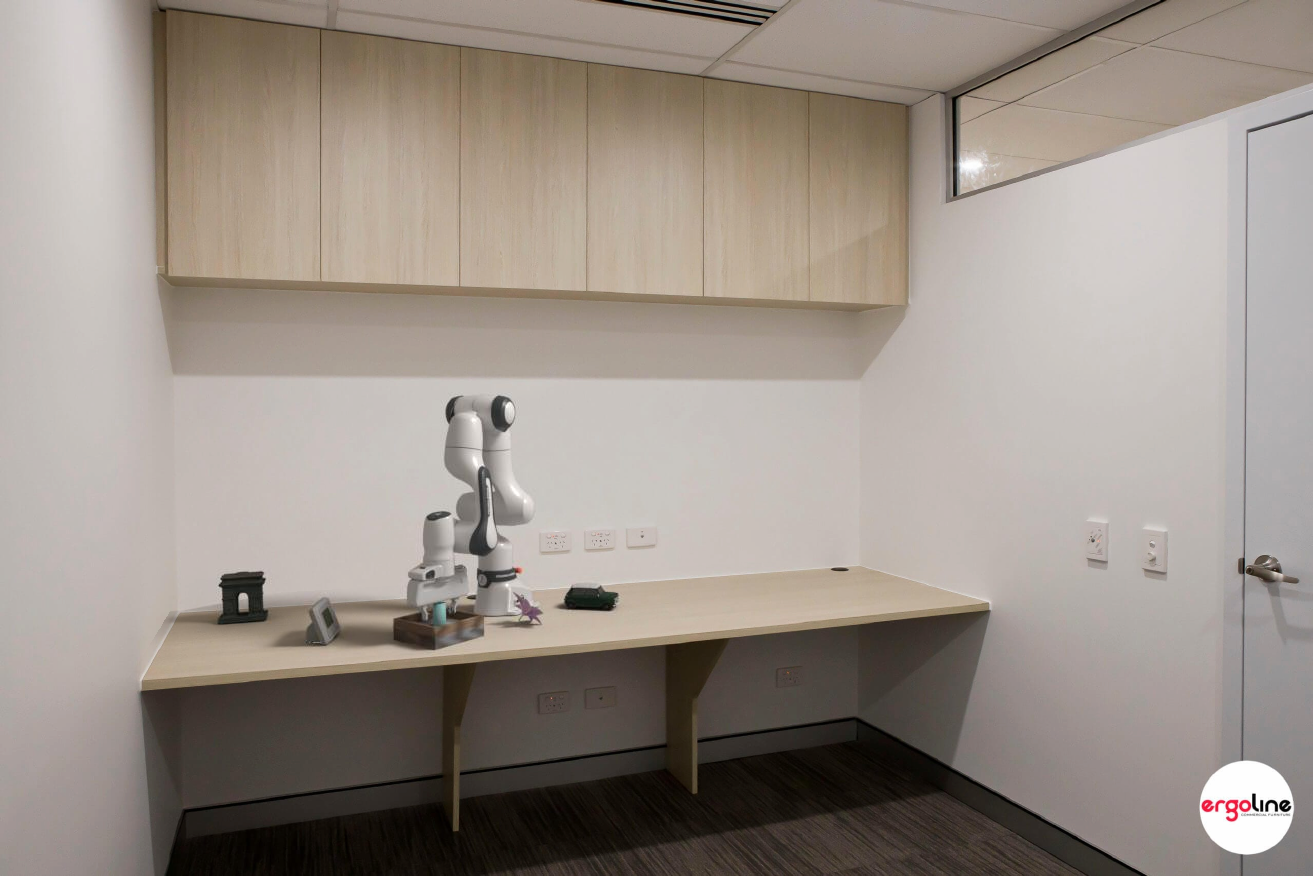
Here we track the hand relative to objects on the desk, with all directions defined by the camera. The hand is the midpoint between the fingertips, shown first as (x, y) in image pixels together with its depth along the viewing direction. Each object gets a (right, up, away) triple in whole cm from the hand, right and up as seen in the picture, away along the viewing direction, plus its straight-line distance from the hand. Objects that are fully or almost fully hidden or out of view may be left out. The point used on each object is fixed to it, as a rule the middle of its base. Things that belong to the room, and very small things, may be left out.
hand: (439, 616), depth 250 cm
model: (-66, -5, +20) cm, 69 cm away
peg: (0, -6, 0) cm, 6 cm away
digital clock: (-32, -6, -1) cm, 33 cm away
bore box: (0, -6, 0) cm, 6 cm away
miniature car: (+41, -5, +38) cm, 56 cm away
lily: (+23, -6, +15) cm, 28 cm away
